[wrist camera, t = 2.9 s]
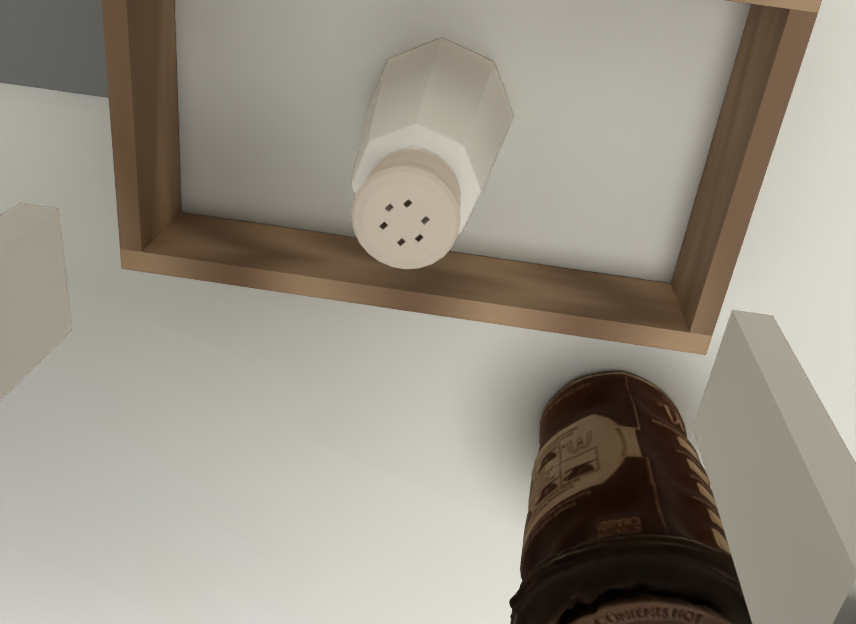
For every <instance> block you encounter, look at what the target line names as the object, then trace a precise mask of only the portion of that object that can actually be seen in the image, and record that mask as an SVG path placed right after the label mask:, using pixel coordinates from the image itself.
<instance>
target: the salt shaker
mask: <svg viewBox="0 0 856 624" xmlns="http://www.w3.org/2000/svg"><path fill="white" fill-rule="evenodd" d="M513 117H514V116H513V113H512V111H511V108H510V105H509V102H508V99H507V96H506V94H505V91H504V88H503V85H502V82H501V79H500V77H499V74H498V71H497V68H496V65H495V63H494V62H493V61H491V60H488V59H486V58H484V57H482V56H480V55H478V54H475V53H473V52H471V51H469V50H467V49H465V48H462V47H460V46H458V45H456V44H454V43H452V42H449V41H447V40H445V39H443V38H439V39H437V40H434V41H432V42H430V43H427V44H425V45H422V46H420V47H417V48H415V49H412V50H410V51H407V52H405V53H402V54H400V55H397V56H395V57H392V58H390V59H388V60H387V63H386V66H385V68H384V71H383V73H382V76H381V78H380V81H379V83H378V86H377V89H376V91H375V94H374V96H373V99H372V101H371V104H370V107H369V109H368V112H367V116H366V120H365V124H364V128H363V133H362V137H361V141H360V145H359V149H358V154H357V158H356V162H355V166H354V170H353V175H352V182H351V187H352V189H353V191H354V193H355V195H356V196H355V199H354V201H353V204H352V213H351V219H352V225H353V230H354V232H355V235H356V237H357V239H358V241H359V243H360V244H361V245H362V247H363V248H364V249H365V250H366V251H367V253H368V254H370V255H371V256H372V257H374V258H375V259H376V260H378V261H379V262H381V263H384V264H386V265H388V266H391V267H395V268H401V269H417V268H422V267H425V266H428V265H431V264H433V263H435V262H436V261H438V260H440V259H441V258H443V257H444V256H445V255H446V254H447V253H448V251H449V250H450V249H451V248H452V247H453V245H454V243H455V241H456V239H457V237H458V234H460V233H461V232H462V230H463V228H464V227H465V225H466V223H467V221H468V219H469V217H470V215H471V212H472V210H473V208H474V206H475V204H476V202H477V200H478V198H479V196H480V194H481V192H482V190H483V188H484V186H485V184H486V181H487V179H488V177H489V174H490V172H491V169H492V167H493V165H494V162H495V160H496V158H497V155H498V153H499V150H500V148H501V146H502V143H503V141H504V138H505V136H506V134H507V131H508V129H509V126H510V124H511V122H512V119H513Z"/></svg>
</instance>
